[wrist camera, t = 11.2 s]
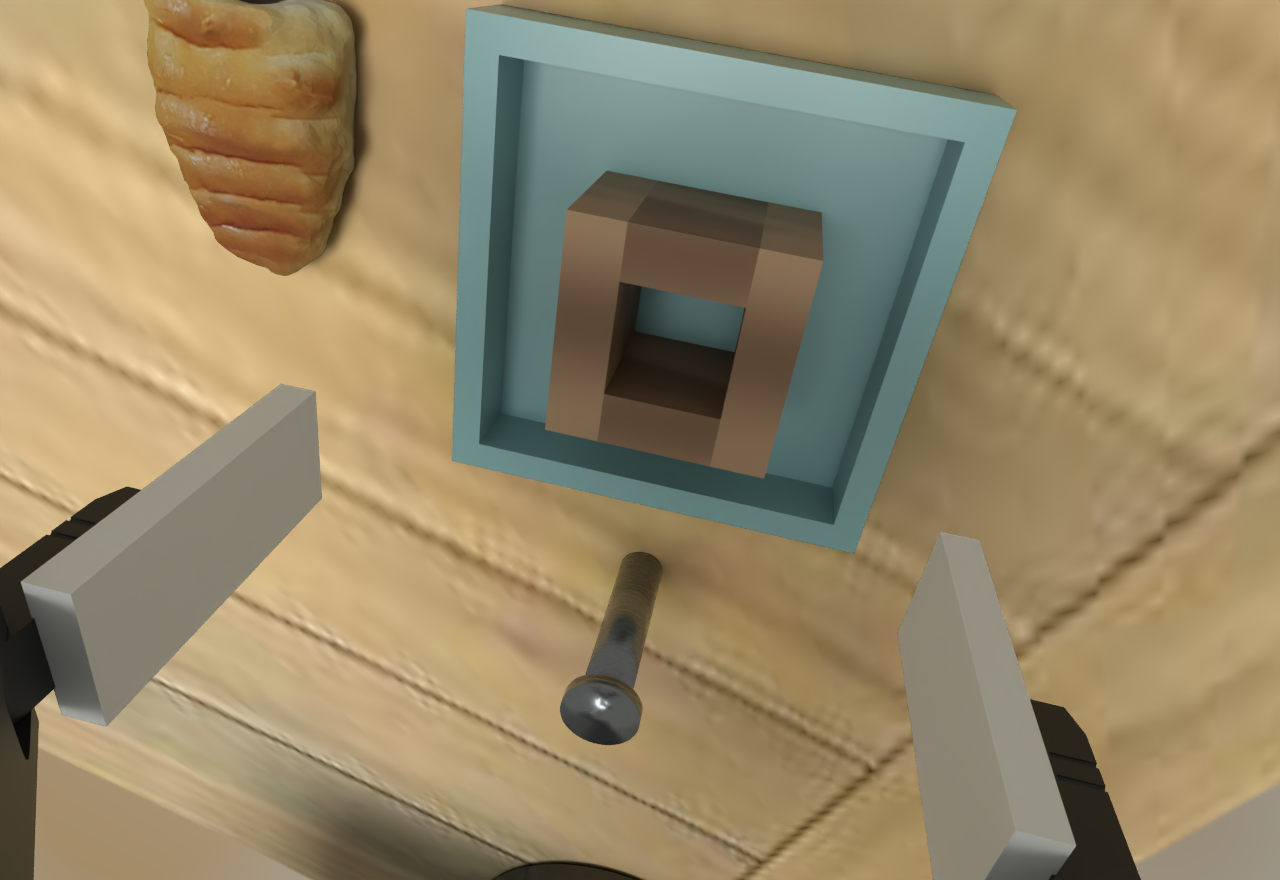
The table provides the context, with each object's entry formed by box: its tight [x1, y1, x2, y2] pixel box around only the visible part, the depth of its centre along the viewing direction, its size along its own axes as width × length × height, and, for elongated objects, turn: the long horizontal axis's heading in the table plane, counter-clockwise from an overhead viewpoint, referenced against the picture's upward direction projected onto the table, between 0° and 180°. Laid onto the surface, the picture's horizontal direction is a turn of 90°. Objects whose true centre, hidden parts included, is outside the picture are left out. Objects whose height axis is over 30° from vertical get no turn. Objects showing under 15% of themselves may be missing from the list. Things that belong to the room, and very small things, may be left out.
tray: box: [452, 5, 1017, 554], centre depth 27 cm, size 15×15×3 cm
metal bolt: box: [560, 552, 662, 745], centre depth 32 cm, size 3×3×8 cm
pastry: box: [144, 0, 357, 276], centre depth 27 cm, size 9×7×4 cm
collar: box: [545, 171, 823, 478], centre depth 26 cm, size 7×7×5 cm
